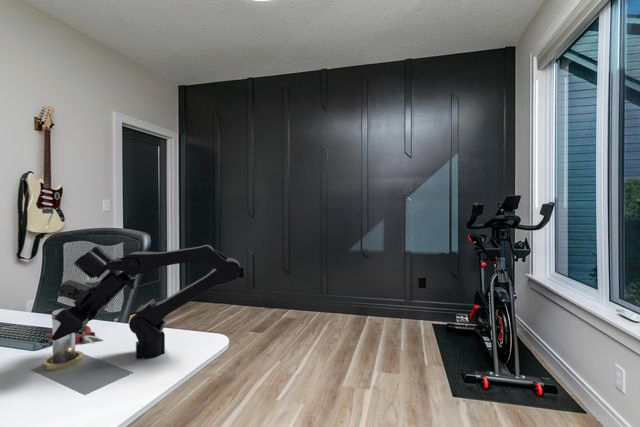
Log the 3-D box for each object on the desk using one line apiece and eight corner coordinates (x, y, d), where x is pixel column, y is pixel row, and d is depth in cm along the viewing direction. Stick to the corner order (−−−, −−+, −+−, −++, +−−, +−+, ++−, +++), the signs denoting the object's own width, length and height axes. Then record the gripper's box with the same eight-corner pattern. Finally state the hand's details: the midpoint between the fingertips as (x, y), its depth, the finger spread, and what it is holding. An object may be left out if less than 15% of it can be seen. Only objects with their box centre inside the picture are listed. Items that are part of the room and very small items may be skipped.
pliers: (79, 355, 92) (79, 345, 92) (41, 342, 101) (42, 333, 101) (119, 341, 103) (119, 332, 103) (82, 330, 111) (82, 322, 111)
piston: (79, 355, 87) (79, 307, 87) (69, 364, 82) (68, 312, 82) (59, 357, 86) (59, 308, 86) (47, 365, 81) (47, 313, 81)
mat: (30, 373, 81) (30, 369, 81) (79, 356, 91) (79, 352, 91) (85, 399, 70) (85, 394, 70) (134, 376, 80) (134, 372, 80)
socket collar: (83, 357, 90) (83, 348, 90) (81, 369, 83) (81, 359, 83) (45, 364, 85) (45, 355, 85) (40, 378, 79) (40, 367, 79)
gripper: (94, 264, 94) (49, 305, 91) (64, 276, 76) (7, 328, 73) (125, 289, 96) (82, 330, 93) (103, 307, 78) (49, 359, 75)
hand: (57, 335), depth 84 cm, fingers closed on piston, 5 cm apart
